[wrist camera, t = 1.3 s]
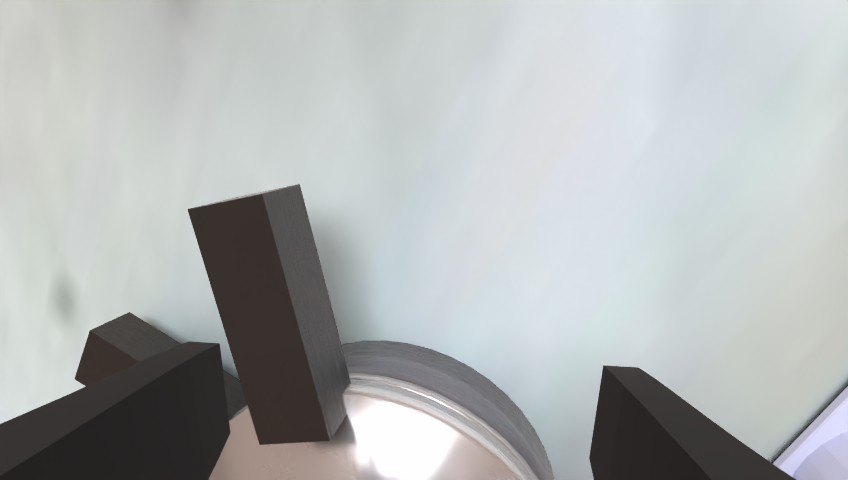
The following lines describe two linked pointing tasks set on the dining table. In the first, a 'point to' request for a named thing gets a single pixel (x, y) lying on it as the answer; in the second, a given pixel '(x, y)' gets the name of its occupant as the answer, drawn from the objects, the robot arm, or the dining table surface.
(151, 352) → the pot
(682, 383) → the dining table surface
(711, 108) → the dining table surface
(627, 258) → the dining table surface
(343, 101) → the dining table surface
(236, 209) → the pressure cooker lid
